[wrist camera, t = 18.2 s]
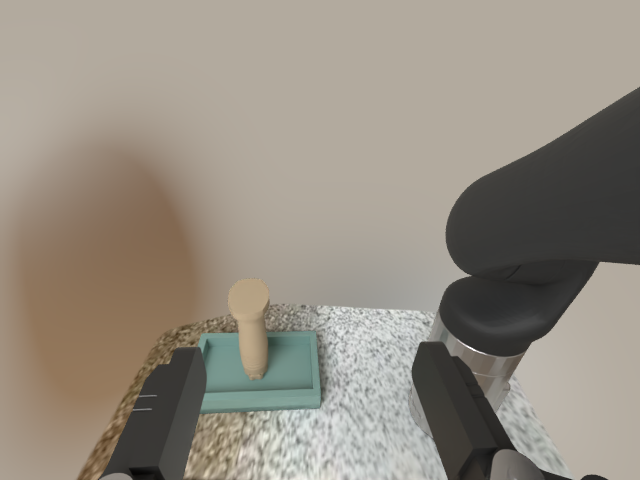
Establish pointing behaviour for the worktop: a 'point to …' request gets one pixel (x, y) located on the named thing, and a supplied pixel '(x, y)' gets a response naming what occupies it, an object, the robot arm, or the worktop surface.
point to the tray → (277, 383)
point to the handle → (251, 324)
